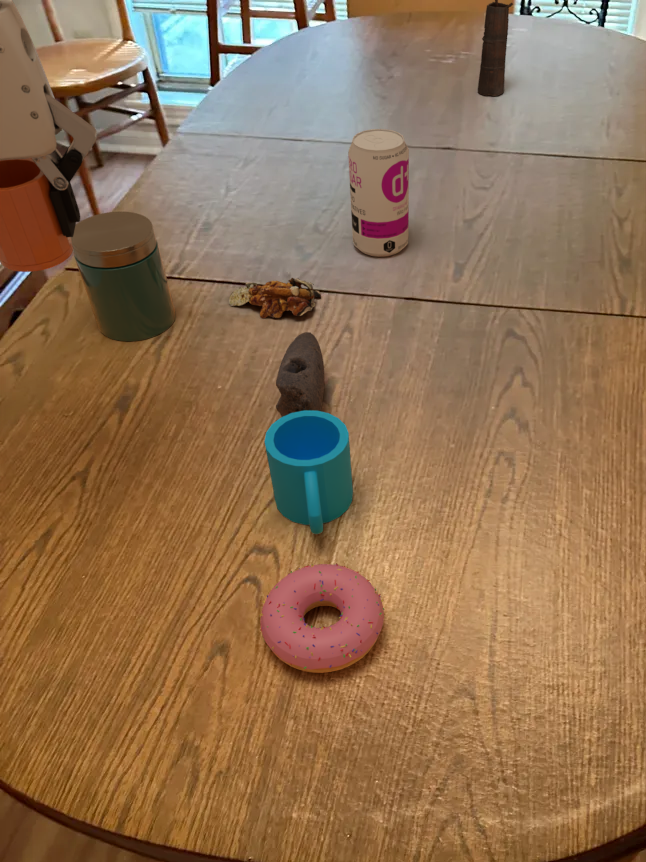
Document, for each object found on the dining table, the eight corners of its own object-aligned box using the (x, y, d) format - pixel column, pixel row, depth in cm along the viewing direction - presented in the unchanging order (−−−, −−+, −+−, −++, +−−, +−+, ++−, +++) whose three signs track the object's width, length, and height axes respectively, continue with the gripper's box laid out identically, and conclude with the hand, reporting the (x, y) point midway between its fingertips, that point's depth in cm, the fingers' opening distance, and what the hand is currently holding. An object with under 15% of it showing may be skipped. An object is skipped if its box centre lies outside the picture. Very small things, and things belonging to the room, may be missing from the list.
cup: (-6, 275, 67) (-41, 193, 61) (5, 239, 71) (-27, 159, 65) (69, 268, 67) (41, 187, 62) (76, 233, 71) (50, 154, 66)
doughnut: (238, 646, 70) (230, 618, 67) (311, 564, 76) (307, 536, 73) (339, 703, 66) (335, 677, 63) (407, 612, 72) (407, 584, 69)
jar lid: (71, 271, 92) (65, 255, 91) (77, 231, 99) (72, 215, 97) (156, 263, 93) (151, 246, 92) (157, 224, 100) (153, 208, 98)
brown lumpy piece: (237, 287, 109) (233, 263, 106) (322, 293, 108) (320, 269, 105) (222, 315, 104) (217, 291, 102) (311, 322, 103) (308, 298, 100)
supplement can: (419, 244, 117) (421, 138, 105) (380, 264, 113) (378, 158, 101) (380, 225, 120) (378, 122, 109) (341, 245, 116) (335, 139, 105)
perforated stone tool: (291, 360, 98) (285, 312, 92) (334, 361, 98) (329, 312, 92) (274, 441, 88) (265, 391, 83) (321, 442, 88) (315, 392, 82)
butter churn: (525, 87, 158) (544, -89, 137) (510, 103, 152) (527, -77, 131) (482, 80, 160) (494, -93, 139) (465, 96, 155) (475, -82, 134)
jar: (95, 345, 100) (66, 261, 91) (100, 303, 106) (73, 220, 98) (175, 336, 101) (154, 252, 92) (175, 295, 108) (155, 212, 99)
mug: (273, 473, 84) (263, 414, 78) (349, 465, 85) (344, 406, 79) (277, 558, 77) (266, 499, 70) (361, 548, 77) (357, 490, 71)
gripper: (71, -35, 58) (134, 205, 71) (-182, -24, 56) (-67, 220, 69) (59, -6, 53) (129, 246, 66) (-218, 7, 51) (-87, 264, 64)
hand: (28, 231), depth 67 cm, fingers closed on cup, 6 cm apart
